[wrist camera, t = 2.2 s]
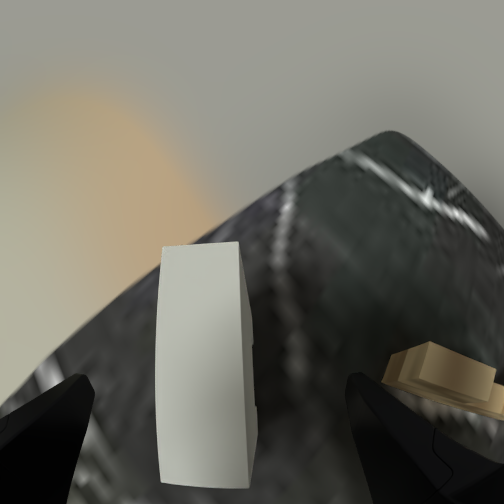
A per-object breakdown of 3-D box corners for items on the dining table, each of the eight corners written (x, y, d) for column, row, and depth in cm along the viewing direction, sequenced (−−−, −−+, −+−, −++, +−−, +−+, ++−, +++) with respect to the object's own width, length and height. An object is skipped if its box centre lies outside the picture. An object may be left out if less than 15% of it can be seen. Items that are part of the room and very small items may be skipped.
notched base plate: (521, 401, 12) (559, 394, 8) (515, 423, 11) (553, 419, 7) (391, 354, 16) (429, 341, 12) (381, 382, 15) (418, 378, 11)
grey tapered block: (257, 432, 14) (249, 487, 6) (216, 433, 14) (161, 482, 6) (252, 317, 18) (238, 241, 9) (213, 319, 18) (162, 246, 9)
